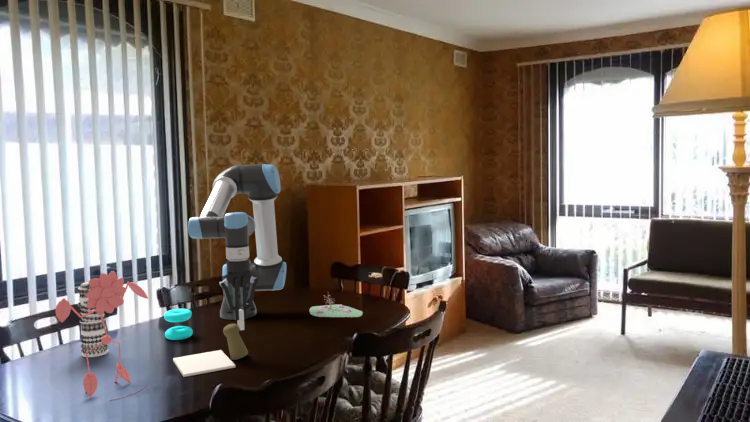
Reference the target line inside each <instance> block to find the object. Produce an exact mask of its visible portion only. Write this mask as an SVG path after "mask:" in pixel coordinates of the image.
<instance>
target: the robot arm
mask: <svg viewBox="0 0 750 422" xmlns="http://www.w3.org/2000/svg"><path fill="white" fill-rule="evenodd" d="M281 188H282V187H281V179H280V174H279V170H278V168H277V166H276V165H274V164H267V163H266V164H265V163H259V164H258V163H257V164H237V165H232V166H231V167H228V168H226V169H225V170H223V171H221V172H220V173H219V174H218V175H217V176H216V177H215V179H214V181H213V182H212V191H211V192H210V195H209V197H208V199H207V201H206V203H205V205H204V207H203V209H202V211H201V213H200V215H199V216H192V217H190V218H189V220H188V222H187V233H188V236H189V237H190V238H191V239H195V240H196V239H197V240H198V239H199V240H204V239H225V256H226V257H225V259H227V260H226V263H225V264H223V266H222V270H221V271H222V274H221V277H222V281H219V283H218V285H219V286H220V287H221V289H222V293H223V300H222V302H221V307H220V309H219V318H221V319H223V320H230V321H232V320H235V321H237V325H238V327H239V331H245V320H247V319H249V318H253V317H255V316H257V313H258V312H257V307H256V304H255V301H254V297H255V291H256V292H257V291H259V292H260V291H261V292H263V291H273V292H274V291H280V290H282V289H284V286H285V283H286V277H287V262H285V261H283V258H282V256H281V255H279V252H278V251H279V250H278V237H277V224H276V213H275V211H276V210H275V200H276V199H277V198H278V194H280V192H281ZM240 194H241V195H247V197H248V200H249V201H250V202H252V210H253V211H252V212H253V217H252V216H251V215H248V214H247V213H246V212H243V211H235V212H228V213H227V212H226V210H227V209H228V206H229V204H230V201H231V199H232V198H234V197H235V196H236V195H240ZM253 233H254V234H255V235H254V236H255V246H256V257H255V258H254V260H253V262H252V261H251V260H250V259H249V258H250V244H249V238H250V236H251V235H253Z"/></svg>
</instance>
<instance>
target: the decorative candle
mask: <svg viewBox="0 0 750 422" xmlns="http://www.w3.org/2000/svg"><path fill="white" fill-rule="evenodd" d="M77 289H78V295H79V296H78V301H79V302H78V303H77V305H76V306H77V307H78V308H77V312H78V313H79V314H80V315H81V316H83V315H85V314H87V313H89V312H91V311H93V310H95V309H96V307H93V308H91V309H88V308H87V301H88V299H89V298H86V294H87V293H88V291H89V290H91V289H92V288H91V286H90V285H89V281H84V282H82V283H81V284H80V286H79V287H77ZM106 313H107V312H106V311H104V313H103V314H102V315H103V320H104V323H105V324H106V320H107V316H106ZM78 321H79V323H80V324H81V325H80V327H81V330H80V333H81V335H80V336H79V337H80V338H81V339H80V342H81V343H82V344H81V345H80V348H81V350H80V351H81V356H82V357H84V358H86V352H87V351H89V350H90V349H92V348H94V347H95V346H97V345H99V344H100V343H102V342H101V339H102V337H103V336H105V335H106V334H105V330H104V327H103V324H102V320H101V315H98V314H97V312H96V311H95V312H93V313H91V314H89V315H87V316H85V317H83V318H81V317H79V319H78ZM108 353H109V345H108V344H107V345H105V344H101V345H99V346H98V347H96V348H94V349H93V350H91V351H89V352H88V353H87V355H88V358H97V357H100V356H103V355H106V354H108Z"/></svg>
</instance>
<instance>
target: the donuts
mask: <svg viewBox="0 0 750 422" xmlns="http://www.w3.org/2000/svg"><path fill="white" fill-rule="evenodd" d="M192 314H193V312H192V310H191V309H188V308H175V309H169V310H167V311H166V312H164V315H163V318H164V320H165V321H166V322H169V323H183V322H186V321H188V320H189V319H190V318H191V317H192V316H193V315H192ZM193 331H194V330H193V329H192V327H190V326H186V325H177V326H176V325H175V326H173V327H170V328H168V329H167V330H166V331H165V332H164V337H165V338H166V339H167V340H169V341H180V340H181V341H182V340H186V339H189V338H190V337H191V336H193Z"/></svg>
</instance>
